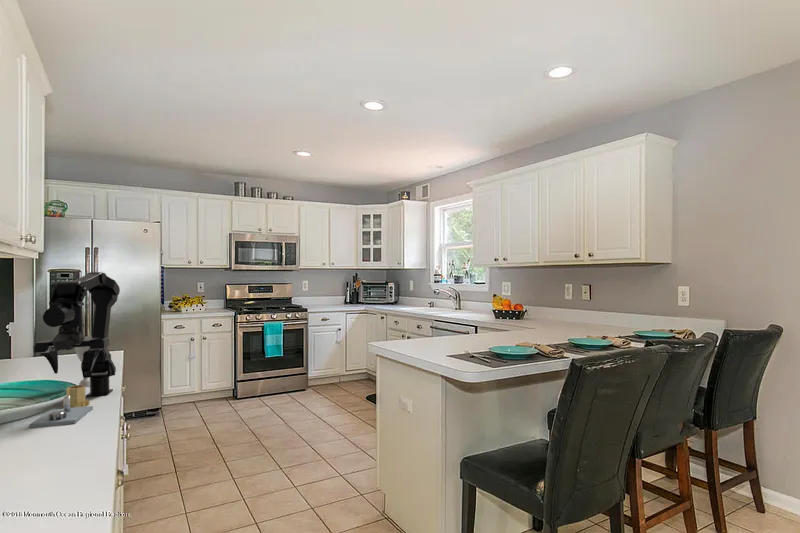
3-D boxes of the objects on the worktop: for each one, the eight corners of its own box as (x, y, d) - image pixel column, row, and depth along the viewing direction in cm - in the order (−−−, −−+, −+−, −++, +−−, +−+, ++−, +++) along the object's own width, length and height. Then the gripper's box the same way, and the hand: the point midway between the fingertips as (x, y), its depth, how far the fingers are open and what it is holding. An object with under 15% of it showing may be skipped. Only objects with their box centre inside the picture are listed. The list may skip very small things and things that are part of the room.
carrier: (51, 412, 144) (51, 394, 144) (92, 409, 147) (92, 391, 147) (29, 427, 130) (29, 407, 130) (75, 423, 133) (75, 403, 133)
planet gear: (67, 403, 153) (67, 385, 153) (92, 401, 155) (92, 383, 155) (58, 410, 146) (58, 390, 146) (84, 407, 148) (84, 388, 148)
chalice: (101, 383, 180) (100, 336, 180) (88, 388, 173) (87, 339, 173) (83, 383, 180) (82, 336, 180) (69, 388, 174) (68, 339, 174)
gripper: (23, 327, 136) (25, 381, 136) (97, 324, 141) (99, 375, 142) (40, 322, 147) (42, 372, 147) (108, 319, 152) (110, 367, 152)
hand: (73, 372), depth 147 cm, fingers open, 9 cm apart
